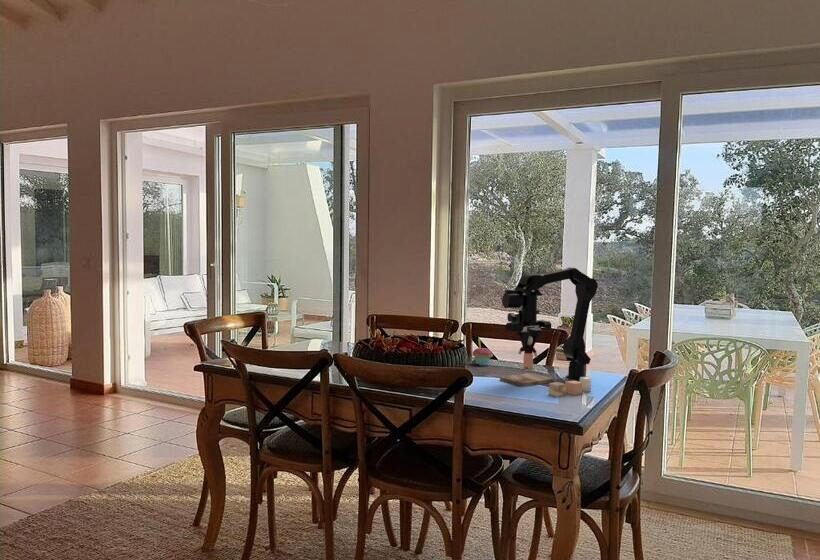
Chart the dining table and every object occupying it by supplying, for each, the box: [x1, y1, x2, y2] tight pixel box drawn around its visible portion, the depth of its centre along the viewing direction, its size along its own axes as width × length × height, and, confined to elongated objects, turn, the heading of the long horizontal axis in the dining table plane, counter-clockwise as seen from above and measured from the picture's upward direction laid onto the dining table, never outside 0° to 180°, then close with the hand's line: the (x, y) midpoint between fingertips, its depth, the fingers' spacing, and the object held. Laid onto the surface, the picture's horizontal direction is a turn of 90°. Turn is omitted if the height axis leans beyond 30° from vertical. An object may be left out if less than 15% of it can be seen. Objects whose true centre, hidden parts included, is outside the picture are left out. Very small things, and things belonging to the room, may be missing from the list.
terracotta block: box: [565, 380, 583, 396], centre depth 231 cm, size 4×4×4 cm
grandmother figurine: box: [518, 335, 538, 371], centre depth 247 cm, size 8×4×13 cm, turn 65°
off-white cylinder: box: [579, 376, 592, 393], centre depth 235 cm, size 4×4×4 cm
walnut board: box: [499, 372, 554, 388], centre depth 248 cm, size 16×12×1 cm
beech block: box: [548, 381, 567, 398], centre depth 228 cm, size 4×4×4 cm
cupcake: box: [472, 335, 494, 366], centre depth 278 cm, size 9×8×12 cm
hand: (527, 348), depth 247 cm, fingers closed on grandmother figurine, 3 cm apart
